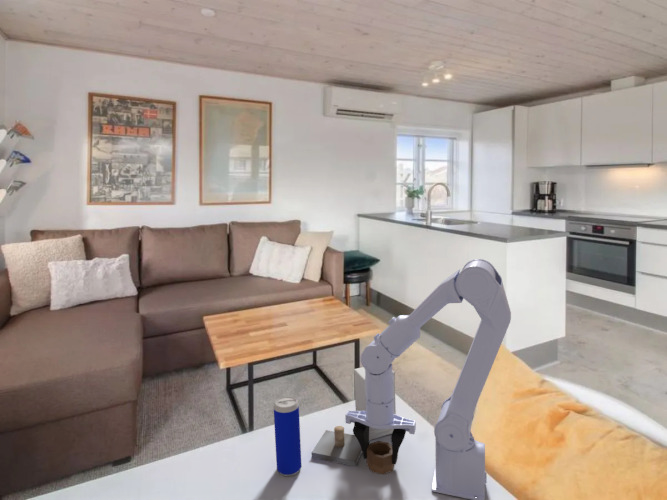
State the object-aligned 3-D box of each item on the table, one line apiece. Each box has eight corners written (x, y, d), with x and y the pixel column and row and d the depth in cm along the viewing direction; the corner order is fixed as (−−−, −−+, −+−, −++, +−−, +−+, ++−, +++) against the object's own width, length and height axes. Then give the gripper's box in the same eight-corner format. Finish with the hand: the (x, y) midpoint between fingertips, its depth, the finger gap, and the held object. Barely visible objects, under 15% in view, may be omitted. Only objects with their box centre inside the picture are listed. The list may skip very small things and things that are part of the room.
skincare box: (384, 420, 102) (383, 361, 100) (397, 434, 96) (397, 371, 94) (354, 428, 99) (352, 367, 97) (366, 442, 93) (364, 378, 91)
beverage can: (302, 460, 87) (299, 395, 85) (301, 476, 82) (297, 407, 80) (278, 462, 87) (274, 396, 85) (275, 478, 82) (271, 408, 80)
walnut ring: (395, 459, 86) (395, 443, 86) (390, 475, 81) (390, 459, 81) (371, 454, 88) (371, 439, 88) (365, 470, 83) (364, 454, 83)
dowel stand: (366, 441, 93) (366, 421, 92) (355, 466, 85) (354, 444, 84) (326, 434, 96) (325, 415, 96) (311, 457, 88) (310, 436, 87)
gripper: (417, 393, 84) (418, 453, 86) (351, 384, 89) (353, 441, 91) (412, 409, 78) (413, 474, 79) (341, 399, 83) (343, 461, 84)
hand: (380, 458), depth 85 cm, fingers closed on walnut ring, 5 cm apart
